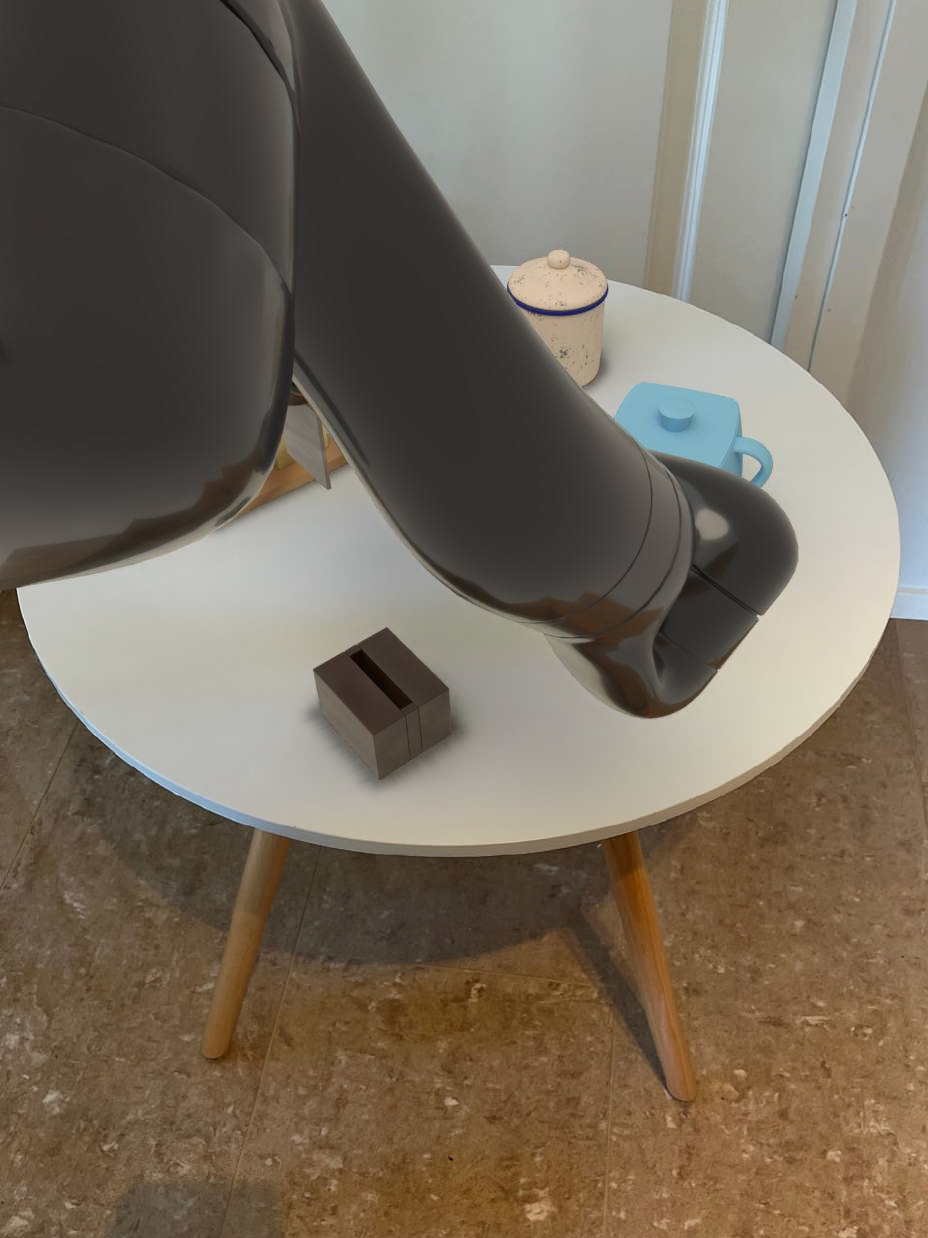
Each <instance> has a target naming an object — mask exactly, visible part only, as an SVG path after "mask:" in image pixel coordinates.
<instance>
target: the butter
mask: <svg viewBox="0 0 928 1238" xmlns="http://www.w3.org/2000/svg"><path fill="white" fill-rule="evenodd" d="M322 429H323V435H324V442H325V449H326V455H327V462H328V469H329V473H330V472H333V471H334V470H336V469H339V468H341V467H343V466H345V465H347V464H348V462H347V460H346V459H345V457H344V456H343V454H342V453H341V451H340V450H339V448H338V446H337V445H336V443H335V442H334V440H333V439H332V437H331V436H330V435H328V433H327V432H328V431H327V429H326V428H325V426H324V425H323V423H322ZM314 480H316V479H315V478H314V477H313V476H312V475H311V474H310V473H308V472H307V471H306V470H305V469H304V468H303V467H302V466H301V465H300V464H299V463H298V462H297V461H295V460H294V459H293V458H292V457H291V456H290V455H289V454H288V453H287V448H286V442H285V437H284V432H283V436H282V441H281V444H280V447H279V450H278V454H277V457H276V460H275V463H274V467H273V469H272V471H271V472H270V474H269V476H268V477H267V479H266V481H265V483H264V485H263V487H262V488H261V490H260V492H259V494H258V495H257V497H256V498H255V499H254V500H253V501H252V502H250V503H249V504H248V505H247V506H246V507H245V508H244V509H243V510H242V511H241V512H240V513H239V514H238V515H237V516H236V517H235V518H238V517H239V516H242V515H244V514H246V513H248V512H250V511H253V510H255V509H256V508H258V507H261V506H262V505H264V504H266V503H269V502H271V501H273V500H275V499H277V498H278V497H281V496H283V495H285V494H287V493H289V492H291V491H293V490H295V489H298V488H299V487H302V486H305V485H306V484H308V483H310V482H312V481H314ZM235 518H234V519H235Z"/></svg>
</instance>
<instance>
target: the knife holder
mask: <svg viewBox="0 0 928 1238" xmlns="http://www.w3.org/2000/svg"><path fill="white" fill-rule="evenodd" d="M312 672H313V678H314V682H315V687H316V692H317V698H318V703H319V707H320V713H321V716H322V717H323V718H324V720H326V722H327V723H328V724H329V725H330V726H331V727H332V729H333V730H334V731H335V732H336V733H337V734H338V735H339V736H340V738H341V739H342V740H343V741H344V742H345V743H346V745H348V747H349V748H350V749H351V750H352V751H353V752H354V754H355V755H357V757H358V758H359V759H360V761H362V763H363V764H365V766H366V767H367V768H368V769H369V770H370V772H371V773H372V774H373V775H374V776H375V778H377V779H378V780H379V781H380V780H383V779H384V778H386V777H387V776H389V775H390V774H392V773H393V772H395V771H397V770H398V769H400V768H401V767H403V766H404V765H406V764H407V763H410V761H412V760H414V759H415V758H417V757H418V756H420V755H422V753H424V752H427V750H429V749H430V748H433V747H434V746H436V745H437V744H438V743H440V742H442V741H444V740H445V739H447V738H448V737H449V736H451V735H452V714H451V697H450V687H449V686H447V685H446V684H445V682H444V681H443V680H442V679H440V678H439V676H438V675H436V674H435V673H434V672H433V671H432V670H431V669H430V668H429V667H428V665H426V664H425V663H424V662H423V661H422V660H421V659H420V657H418V656H417V655H416V654H415V653H414V652H413V651H412V649H410V648H409V647H408V646H407V645H406V644H405V643H404V642H403V641H402V640H401V639H400V638H399V637H398V636H397V635H396V634H395V633H394V632H393V631H392V630H391V629H390V628H389V627H387V626H386V627H384V628H382V629H381V630H378V631H377V632H375V633H374V634H371V635H370V636H368V637H367V638H365V639H363V640H361V641H360V642H358V643H357V644H354V645H352V646H351V647H349V648H347V649H345V650H344V651H342V652H340V653H338V654H336V655H335V656H333V657H332V658H329V659H328V660H326V661H324V662H322V663H321V664H319V665H318V666H315V667H314V668H312Z"/></svg>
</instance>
